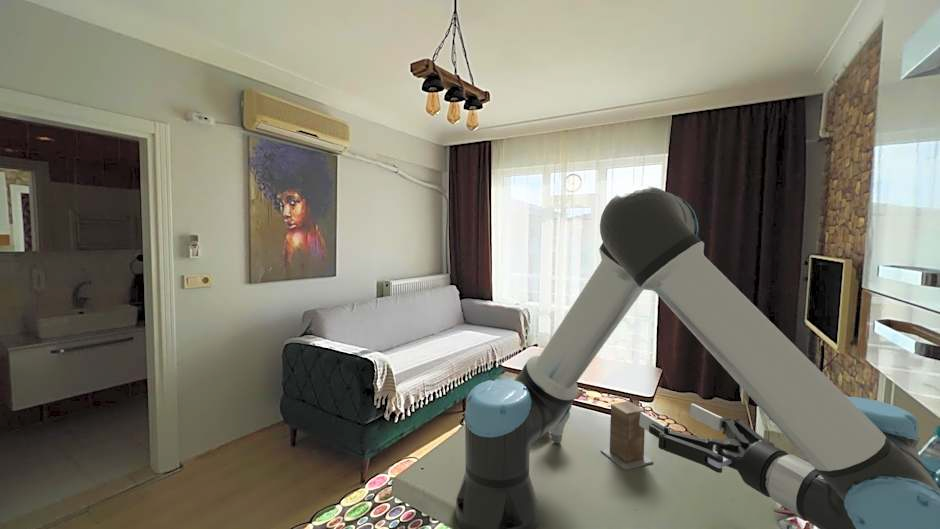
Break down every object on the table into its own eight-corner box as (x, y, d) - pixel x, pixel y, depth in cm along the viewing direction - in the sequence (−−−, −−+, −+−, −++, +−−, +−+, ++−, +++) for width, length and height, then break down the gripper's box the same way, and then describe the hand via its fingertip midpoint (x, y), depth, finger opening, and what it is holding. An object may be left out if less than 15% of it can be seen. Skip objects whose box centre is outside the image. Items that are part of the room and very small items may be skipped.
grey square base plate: (624, 470, 85) (625, 437, 84) (600, 451, 92) (601, 421, 92) (652, 463, 87) (654, 431, 87) (627, 445, 95) (628, 416, 94)
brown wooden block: (625, 463, 86) (627, 413, 86) (609, 451, 91) (611, 404, 91) (643, 459, 88) (645, 410, 87) (627, 447, 93) (628, 401, 92)
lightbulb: (567, 437, 99) (567, 395, 98) (570, 450, 93) (571, 405, 92) (542, 436, 99) (543, 394, 99) (545, 448, 93) (546, 404, 93)
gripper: (720, 517, 55) (617, 441, 75) (827, 483, 64) (709, 423, 84) (724, 467, 55) (619, 404, 75) (832, 440, 63) (712, 389, 83)
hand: (666, 414), depth 79 cm, fingers open, 13 cm apart
